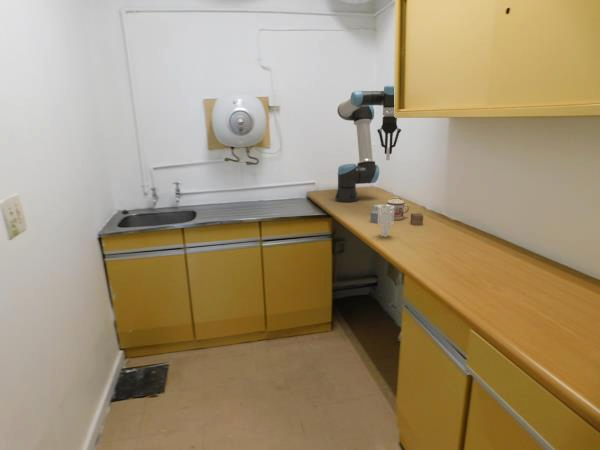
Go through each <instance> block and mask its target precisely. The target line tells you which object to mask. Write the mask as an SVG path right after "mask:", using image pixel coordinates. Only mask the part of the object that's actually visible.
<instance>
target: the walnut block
mask: <svg viewBox="0 0 600 450" xmlns="http://www.w3.org/2000/svg"><path fill="white" fill-rule="evenodd" d="M409 223H410V224H411V225H412V226H423V225H424V215H423V214H422V213H421V212H410V222H409Z"/></svg>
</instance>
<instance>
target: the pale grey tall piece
mask: <svg viewBox="0 0 600 450" xmlns="http://www.w3.org/2000/svg"><path fill="white" fill-rule="evenodd" d="M382 207H385V208H382ZM381 210H383V211H381ZM391 210H392V211H391ZM394 221H395V220H394V206H392V205H387V204H382V205H379V206H378V223H377V225H378V226H380V227H381V237H383V236H384V237H383V238H388V237H389V227H393V226H394ZM387 236H388V237H387Z"/></svg>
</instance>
